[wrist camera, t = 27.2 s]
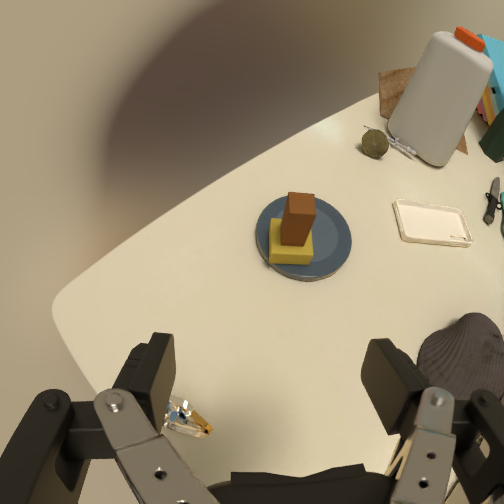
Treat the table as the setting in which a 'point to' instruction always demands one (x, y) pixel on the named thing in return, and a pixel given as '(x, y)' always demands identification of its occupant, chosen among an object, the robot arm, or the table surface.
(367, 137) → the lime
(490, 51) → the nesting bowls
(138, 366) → the robot arm
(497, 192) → the knife
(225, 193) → the table surface
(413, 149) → the syringe
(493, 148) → the bottle
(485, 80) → the plastic bottle
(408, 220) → the phone case
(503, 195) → the toy spaceship
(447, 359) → the seashell
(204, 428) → the ring
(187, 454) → the table surface
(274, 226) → the sponge brush
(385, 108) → the pyramid
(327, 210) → the plate
